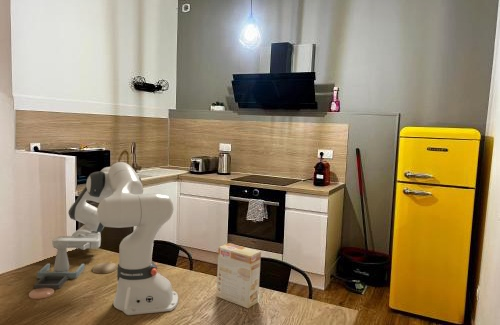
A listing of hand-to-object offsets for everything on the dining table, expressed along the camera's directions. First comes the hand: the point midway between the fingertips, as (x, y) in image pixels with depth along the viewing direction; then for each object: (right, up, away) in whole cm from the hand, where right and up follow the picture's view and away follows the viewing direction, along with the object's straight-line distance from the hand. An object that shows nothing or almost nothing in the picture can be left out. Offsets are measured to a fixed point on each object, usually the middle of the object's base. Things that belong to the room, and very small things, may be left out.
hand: (71, 247), depth 162 cm
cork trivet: (+16, -9, -3) cm, 18 cm away
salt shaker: (+1, -9, -10) cm, 13 cm away
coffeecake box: (+74, -14, -24) cm, 79 cm away
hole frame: (+2, -9, -20) cm, 22 cm away
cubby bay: (+1, -8, -10) cm, 13 cm away
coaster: (+3, -10, -28) cm, 30 cm away
